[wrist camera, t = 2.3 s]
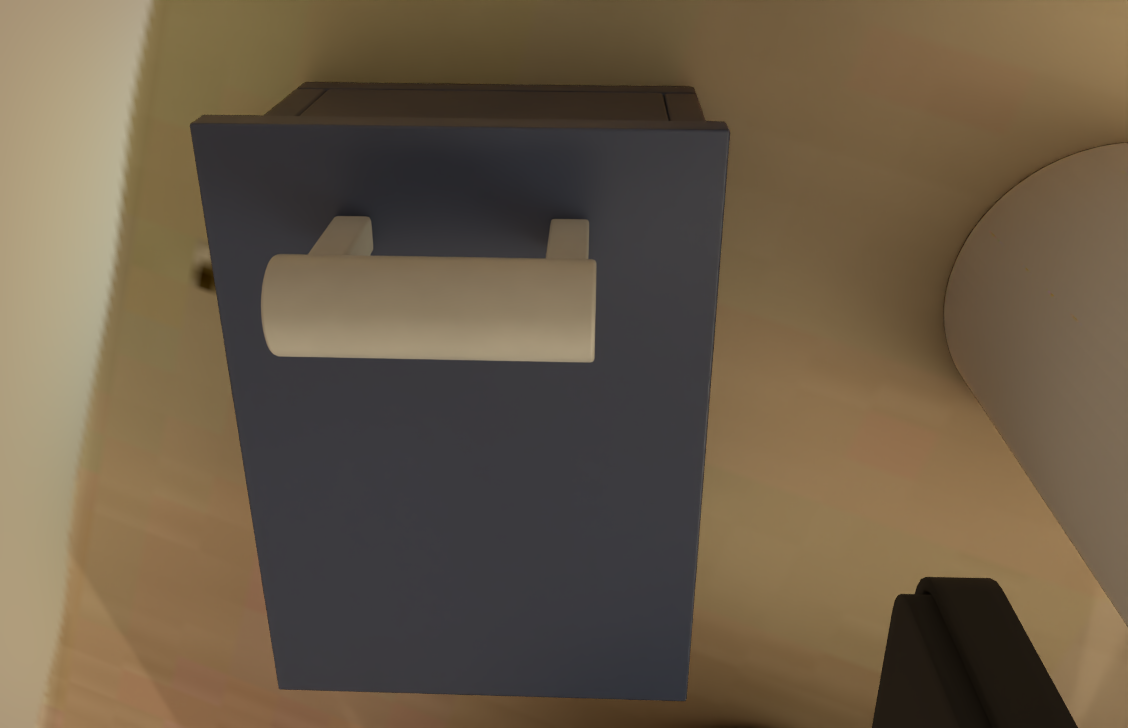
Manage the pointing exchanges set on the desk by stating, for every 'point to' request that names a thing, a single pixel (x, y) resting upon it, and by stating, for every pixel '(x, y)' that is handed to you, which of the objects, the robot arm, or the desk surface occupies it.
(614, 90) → the dark blue open box
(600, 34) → the desk surface
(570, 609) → the cover
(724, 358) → the desk surface
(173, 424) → the desk surface
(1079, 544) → the cup
